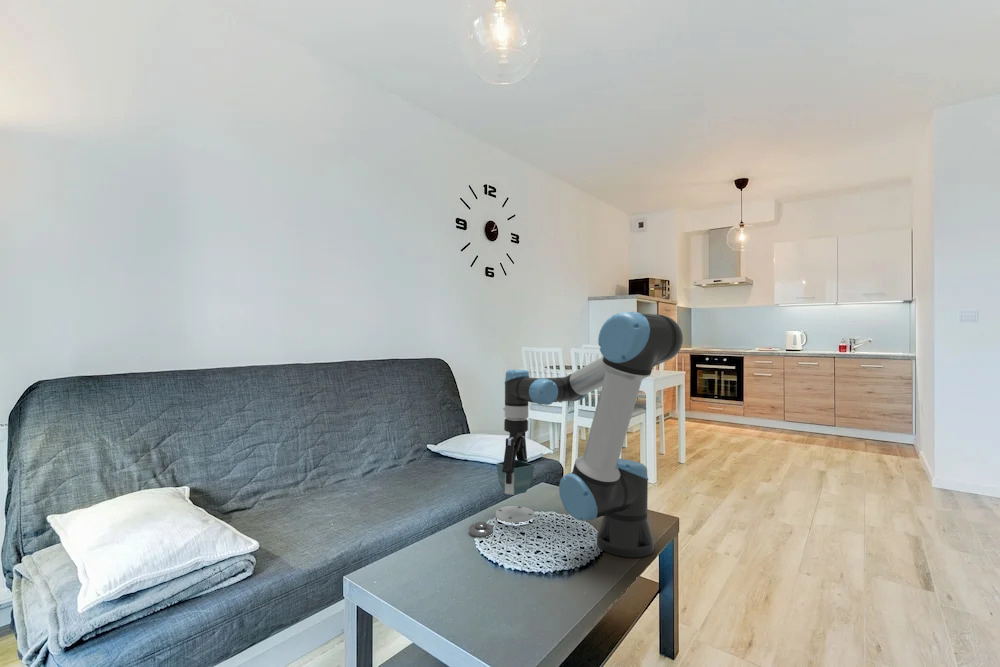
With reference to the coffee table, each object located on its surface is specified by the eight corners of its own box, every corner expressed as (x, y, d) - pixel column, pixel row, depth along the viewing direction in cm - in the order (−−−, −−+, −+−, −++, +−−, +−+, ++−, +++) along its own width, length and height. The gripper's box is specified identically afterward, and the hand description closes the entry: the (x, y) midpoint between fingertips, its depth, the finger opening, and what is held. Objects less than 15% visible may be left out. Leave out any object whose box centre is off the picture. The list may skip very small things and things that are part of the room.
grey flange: (538, 514, 148) (538, 508, 148) (528, 528, 136) (528, 521, 136) (502, 510, 152) (503, 503, 152) (490, 523, 140) (490, 516, 140)
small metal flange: (496, 530, 135) (496, 521, 135) (488, 539, 128) (488, 530, 128) (474, 526, 137) (474, 518, 137) (465, 535, 131) (465, 526, 131)
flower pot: (515, 486, 150) (516, 459, 151) (534, 493, 144) (535, 464, 144) (495, 491, 145) (495, 462, 145) (513, 498, 138) (514, 468, 138)
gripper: (515, 412, 157) (514, 477, 157) (492, 423, 135) (491, 498, 135) (537, 414, 155) (535, 479, 154) (516, 425, 133) (515, 501, 132)
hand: (515, 488), depth 144 cm, fingers closed on flower pot, 11 cm apart
